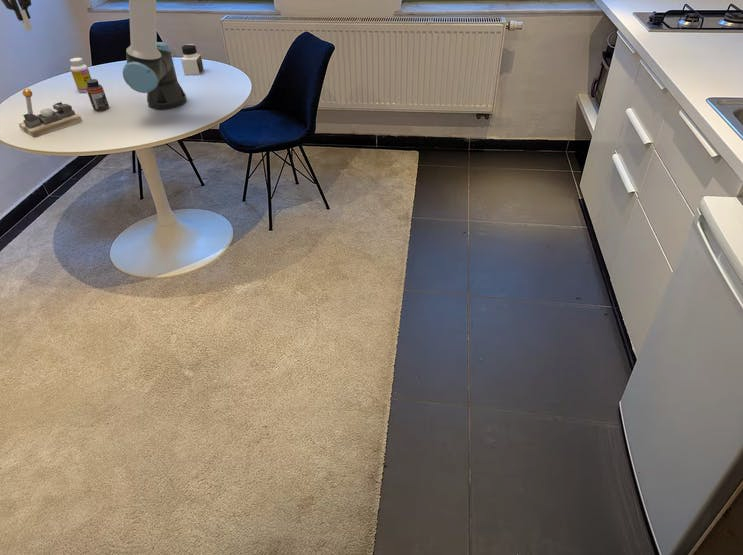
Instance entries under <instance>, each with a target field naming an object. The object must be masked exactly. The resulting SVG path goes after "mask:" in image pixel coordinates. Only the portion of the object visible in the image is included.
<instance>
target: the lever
mask: <svg viewBox="0 0 743 555" xmlns="http://www.w3.org/2000/svg"><path fill="white" fill-rule="evenodd" d="M22 95H23V97H25V101H26V102H25V103H26V111H27V114H28V116H30V115H33V114H34V112H33V106H32V98H31V97H33V91H32V90H31V89H28V88H25V89H23V90H22Z"/></svg>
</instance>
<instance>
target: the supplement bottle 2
mask: <svg viewBox="0 0 743 555" xmlns="http://www.w3.org/2000/svg"><path fill="white" fill-rule="evenodd" d="M87 85H88V86H87V88H86V90H87V92H86V93H87V95H88V97H89V101H90V103H91V106H92V108H93V110H94V111H96V112H103V111H107V110H108V109H109V108H110V105H109V102H108V99H107V96H106V93H105V90H104V87H103V86H102V84H99V80H98V79H96V78H91V79H90V80H87Z"/></svg>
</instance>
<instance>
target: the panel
mask: <svg viewBox="0 0 743 555" xmlns="http://www.w3.org/2000/svg"><path fill="white" fill-rule="evenodd" d="M58 104H63V103H62V102H61V101H60V102H57V103H54V105H58ZM68 105H69V104H68ZM68 105H67V106H64V107H61V108H62V110H63V111H57V110H56V111H55V110H54V109H52V111H53V114H54V116H50V117H47V118H43V117H42V115H41V113H39V114H34V113H33V115H30V116H28V113H25V114H23V115H22V116H23V118H24V120H23V122H21V123H18V125H19V128H20V130H21V129H22V131H23V130H24V131H23V132H25V133H26V134H28V135H30V136H32V137H33V138H37V137H40V136H43V135H46V134H50V133H52V132H55V131H58V130H60V129H64V128H66V127H70V126H72V125H76V124H78V123H81V122H83V120H82V117H81V115H79V114H76V112H75V110H74V109H72V110H70V109H69V106H68Z"/></svg>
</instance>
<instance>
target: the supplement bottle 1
mask: <svg viewBox="0 0 743 555" xmlns="http://www.w3.org/2000/svg"><path fill="white" fill-rule="evenodd" d="M69 62H70V64H71V66H70V67H69V68H70V72H71V75H72V78H73V81H74V84H75V86H76V89H77V91H78V92H79V93H87V90H86V88H87V86H88V85H87V80H90V79H92V76H91V74H90V70H89V68H88V66H87V65H86V64H84V60H83V58H82V57H74V58H70V59H69Z"/></svg>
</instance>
